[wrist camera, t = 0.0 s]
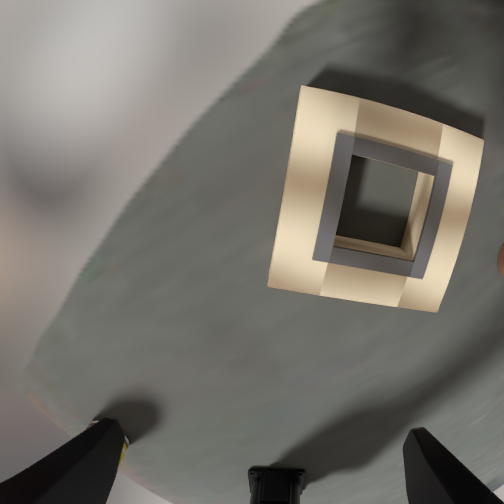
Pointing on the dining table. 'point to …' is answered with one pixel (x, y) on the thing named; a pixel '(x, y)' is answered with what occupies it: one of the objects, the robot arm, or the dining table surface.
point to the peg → (501, 261)
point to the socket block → (332, 193)
